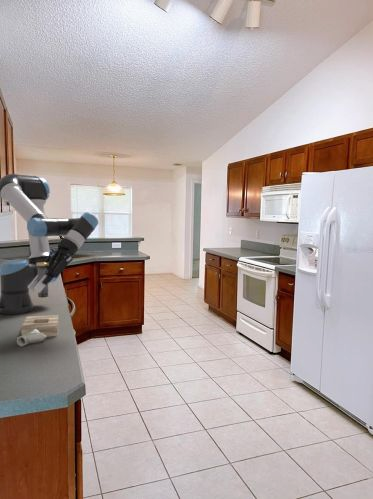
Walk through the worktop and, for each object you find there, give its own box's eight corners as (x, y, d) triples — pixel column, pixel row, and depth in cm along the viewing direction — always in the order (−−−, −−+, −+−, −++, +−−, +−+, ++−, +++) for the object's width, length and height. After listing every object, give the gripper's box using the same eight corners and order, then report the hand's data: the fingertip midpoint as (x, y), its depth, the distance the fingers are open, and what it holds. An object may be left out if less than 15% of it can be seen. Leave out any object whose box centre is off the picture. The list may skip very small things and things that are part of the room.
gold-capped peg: (37, 295, 135) (36, 262, 134) (49, 294, 136) (49, 262, 135) (36, 298, 131) (35, 263, 130) (49, 297, 132) (48, 263, 131)
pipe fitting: (47, 341, 125) (31, 338, 126) (48, 330, 125) (31, 327, 126) (34, 349, 117) (16, 346, 118) (35, 338, 117) (17, 335, 118)
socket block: (26, 326, 139) (26, 316, 138) (58, 324, 142) (58, 315, 142) (21, 338, 125) (21, 327, 125) (57, 335, 129) (56, 325, 129)
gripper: (89, 251, 139) (52, 298, 128) (64, 248, 149) (28, 292, 137) (78, 238, 135) (39, 286, 123) (53, 236, 145) (14, 281, 133)
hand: (33, 289), depth 130 cm, fingers closed on gold-capped peg, 3 cm apart
